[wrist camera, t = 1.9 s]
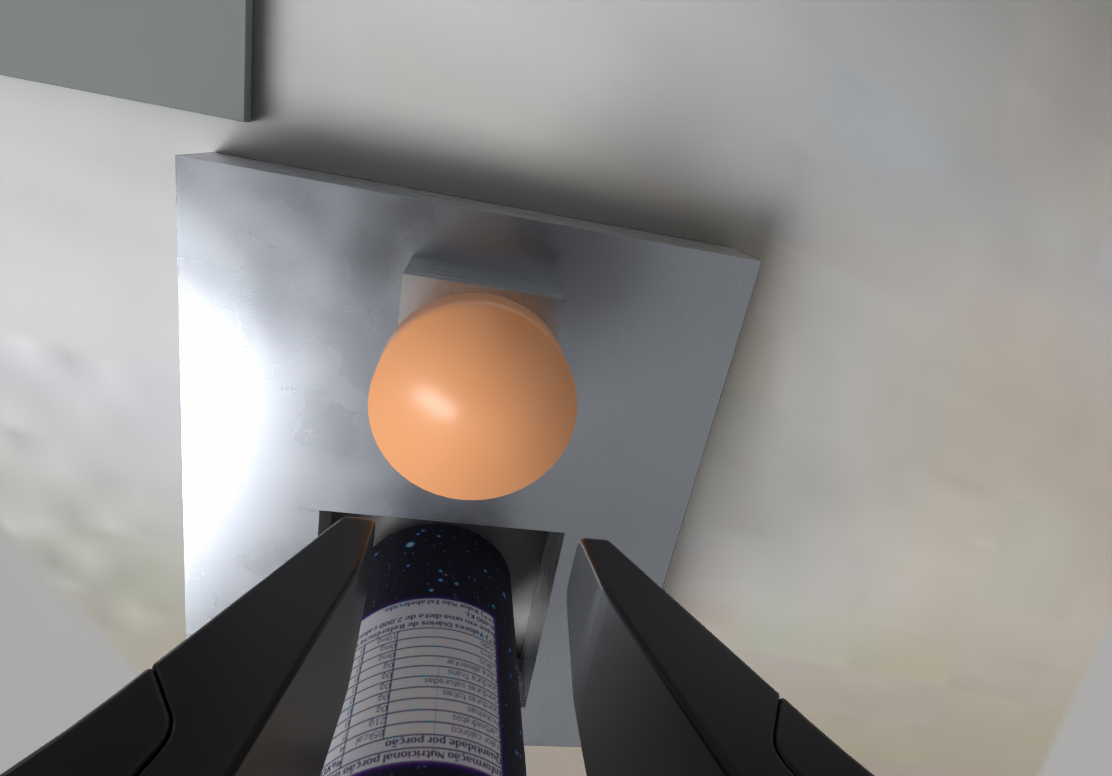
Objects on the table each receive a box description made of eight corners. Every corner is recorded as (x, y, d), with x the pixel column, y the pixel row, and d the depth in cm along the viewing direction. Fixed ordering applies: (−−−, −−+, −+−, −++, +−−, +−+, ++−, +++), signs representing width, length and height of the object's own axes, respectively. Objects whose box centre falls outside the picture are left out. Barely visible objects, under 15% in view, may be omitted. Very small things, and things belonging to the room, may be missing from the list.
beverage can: (330, 586, 24) (208, 970, 13) (420, 482, 23) (369, 809, 12) (450, 651, 26) (432, 1034, 15) (538, 558, 25) (590, 901, 14)
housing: (730, 247, 21) (802, 279, 16) (602, 697, 28) (627, 808, 23) (213, 151, 18) (124, 158, 14) (214, 680, 25) (156, 803, 20)
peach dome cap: (576, 296, 16) (596, 327, 13) (544, 453, 17) (556, 509, 15) (393, 266, 15) (377, 294, 12) (377, 435, 16) (359, 489, 14)
